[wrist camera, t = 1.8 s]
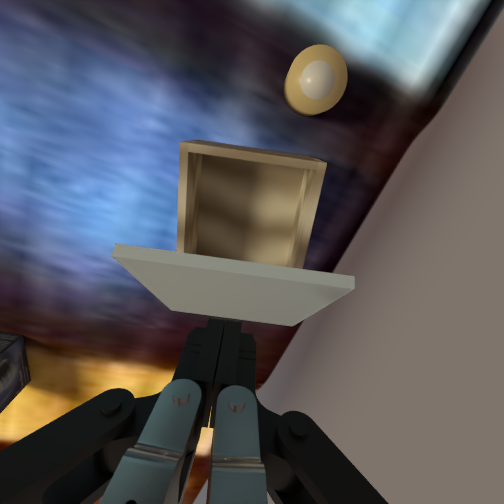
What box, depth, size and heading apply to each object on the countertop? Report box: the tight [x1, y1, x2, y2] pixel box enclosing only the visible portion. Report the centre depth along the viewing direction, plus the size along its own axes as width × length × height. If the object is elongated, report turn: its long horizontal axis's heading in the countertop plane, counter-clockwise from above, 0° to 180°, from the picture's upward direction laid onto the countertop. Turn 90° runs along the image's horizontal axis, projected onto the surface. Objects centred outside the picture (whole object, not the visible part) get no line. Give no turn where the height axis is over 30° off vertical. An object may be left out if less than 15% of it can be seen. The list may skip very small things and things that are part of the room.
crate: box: [176, 140, 327, 269], centre depth 34 cm, size 18×14×8 cm
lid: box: [112, 244, 355, 326], centre depth 25 cm, size 18×14×1 cm
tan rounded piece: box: [284, 45, 347, 116], centre depth 29 cm, size 6×6×5 cm
